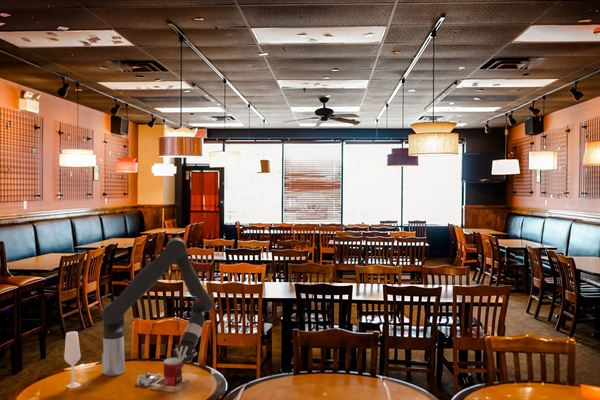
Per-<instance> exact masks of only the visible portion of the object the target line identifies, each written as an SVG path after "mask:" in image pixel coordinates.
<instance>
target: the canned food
mask: <svg viewBox="0 0 600 400" xmlns="http://www.w3.org/2000/svg"><path fill="white" fill-rule="evenodd" d="M163 377H164V383H163V385H167V386H174V387H175V386H177V385H178V384H180V383H181V382H183V368H182V360H181V359H180V358H175V357H169V358H166V359H164V360H163Z"/></svg>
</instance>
